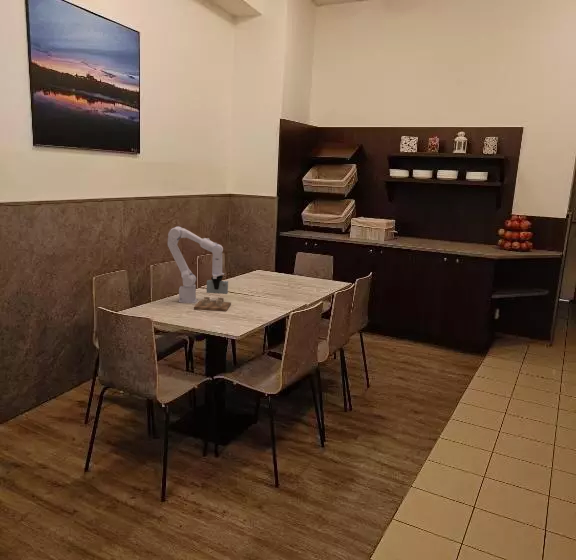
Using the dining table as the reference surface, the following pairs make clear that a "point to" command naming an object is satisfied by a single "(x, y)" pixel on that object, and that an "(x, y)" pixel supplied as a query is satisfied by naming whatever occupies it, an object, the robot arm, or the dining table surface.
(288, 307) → the dining table surface
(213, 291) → the grey block
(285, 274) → the dining table surface
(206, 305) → the cabinet base
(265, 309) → the dining table surface
